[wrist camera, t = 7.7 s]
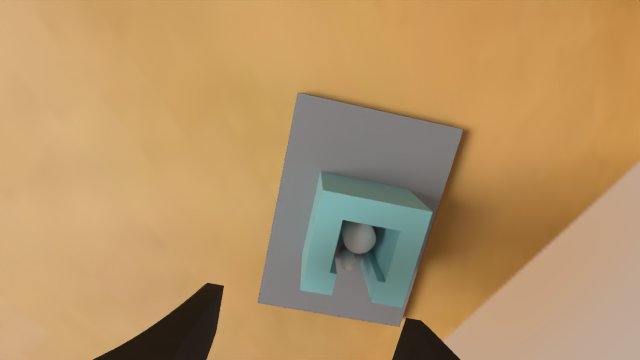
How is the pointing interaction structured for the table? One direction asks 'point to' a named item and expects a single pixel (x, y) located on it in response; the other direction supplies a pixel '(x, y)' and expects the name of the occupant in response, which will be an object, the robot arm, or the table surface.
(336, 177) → the teal slotted block
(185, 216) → the table surface
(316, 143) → the post board
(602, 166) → the table surface
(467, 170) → the table surface
